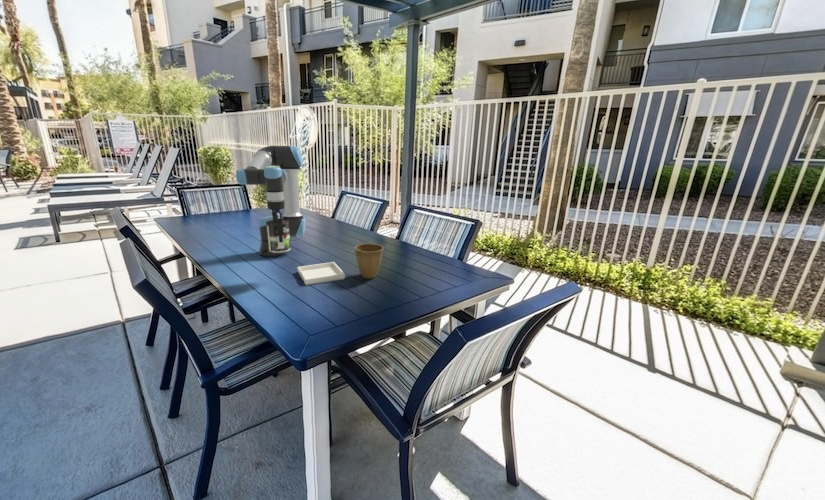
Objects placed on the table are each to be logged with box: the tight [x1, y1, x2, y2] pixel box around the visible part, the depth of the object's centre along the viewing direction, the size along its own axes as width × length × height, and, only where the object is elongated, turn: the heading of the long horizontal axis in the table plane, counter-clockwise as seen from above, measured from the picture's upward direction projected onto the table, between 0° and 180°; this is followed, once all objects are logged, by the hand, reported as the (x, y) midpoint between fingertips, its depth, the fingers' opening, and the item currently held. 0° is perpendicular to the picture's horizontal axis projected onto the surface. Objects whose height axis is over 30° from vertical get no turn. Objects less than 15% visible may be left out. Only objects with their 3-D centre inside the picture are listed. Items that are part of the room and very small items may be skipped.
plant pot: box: [354, 243, 384, 279], centre depth 179 cm, size 15×15×16 cm
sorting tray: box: [297, 261, 346, 286], centre depth 180 cm, size 20×20×3 cm
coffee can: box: [266, 220, 292, 253], centre depth 167 cm, size 10×10×14 cm
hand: (279, 245), depth 168 cm, fingers closed on coffee can, 10 cm apart
